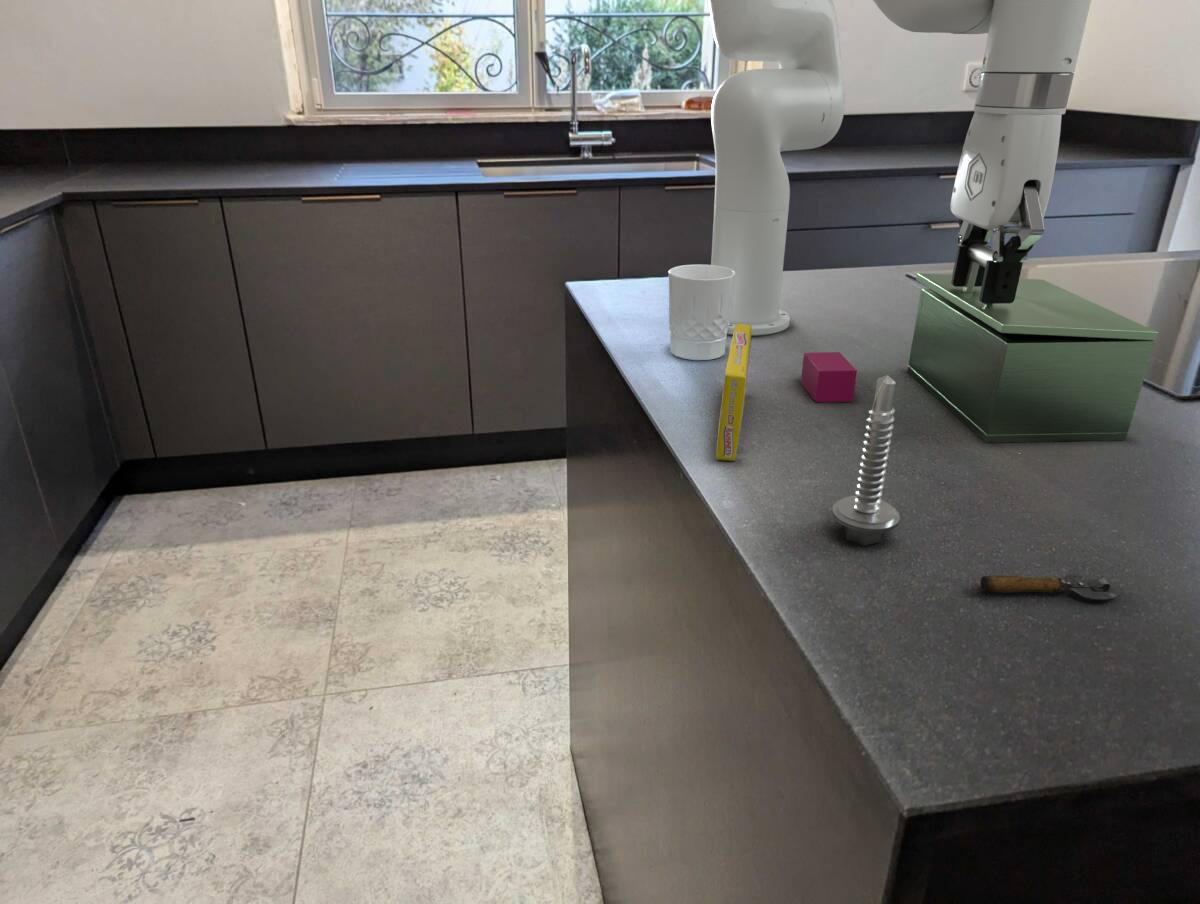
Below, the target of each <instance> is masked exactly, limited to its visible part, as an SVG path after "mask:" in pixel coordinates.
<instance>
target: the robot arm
mask: <svg viewBox="0 0 1200 904" xmlns="http://www.w3.org/2000/svg"><path fill="white" fill-rule="evenodd" d="M872 1H873V2H874V4H875V5H876V7H877V8H878V9H879V11H880V12H881V13H882V14H883V15H884V16H885V17H886V18H887V19H888V20H889V21H890V22H892V23H893V24H894V25H896V26H897V27H898V28H901V29H903V30H905V31H909V32H911V33H927V34H930V33H931V34H933V33H937V34H938V33H940V34H953V35H982V34H983V35H984V34H987V38H986V43H985V49H984V55H983V58H982V59H983V60H982V65H981V70H980V71H981V72H980V74H979V81H978V85H977V91H976V96H975V103H974V107H973V112H974V113H973V116H972V119H971V121H970V124H969V127H968V129H967V133H966V136H965V139H964V143H963V147H962V151H961V155H960V157H959V158H960V159H959V162H958V167H957V171H956V175H955V179H954V185H953V189H952V192H951V193H952V194H951V199H950V205H949V209H950V211H951V214H953V216H954V217H955V218H957V219H958V221H957V224H958V227H959V232H958V234H957V238H956V244H957V249H956V254H955V258H954V259H955V260H954V265H953V270H952V274H951V275H952V280H951V284H952V285H953V286H955V287H964V286H965V282H966V278H967V274H968V270H969V266H970V262H971V260H969V259H968V257H967V250H968V248H969V247H970V246H971V245H972V244H974V243H981V244H983V245H985V246H988V247H990V248H992V260H988V261H987V263H986V268H985V267H983V266H981V265H979V269H978V273H977V277H976V280H975V284H974V287H979V286H982V287H981V292H980V297H979V301H980V302H982V303H984V304H1008V303H1012V302H1013V301H1014V300H1015V295H1016V291H1017V287H1018V282H1019V278H1020V279H1021V273H1022V268H1023V264H1024V263H1025V262H1027V260H1028V255H1029V252H1030V251H1031V250H1032V249H1033V247H1034V245H1035V244H1036V243H1037V242H1038V241H1039V240H1040V239H1041V238H1042V237H1043V236H1044V234H1045V229H1046V228H1045V223H1044V218H1045V215H1046V212H1047V209H1048V205H1049V201H1050V198H1051V197H1050V196H1051V191H1052V188H1053V184H1054V183H1053V182H1054V177H1055V171H1056V165H1057V160H1058V153H1059V146H1060V138H1061V129H1062V115H1065V114H1066V111H1067V107H1068V104H1069V103H1068V102H1069V99H1070V98H1069V97H1070V94H1071V90H1072V86H1073V85H1072V84H1073V80H1074V76H1075V72H1076V71H1075V70H1076V67H1077V63H1078V58H1079V54H1080V51H1081V50H1080V49H1081V46H1082V41H1083V38H1084V37H1083V36H1084V32H1085V29H1086V24H1087V19H1088V15H1089V11H1090V7H1091V4H1092V3H1091V2H1092V0H872ZM708 6H709V14H710V22H711V28H712V35H713V38H714V43H715V45H716V48H717V50H718V52H719V53H720V54H721V55H722V56H723V57H725V58H727V59H730V60H732V61H739V62H778V66H779V68H756V69H755V68H754V69H747V70H743V71H740V72H736V73H734V74H732V75H730V76H729V77H728V78H726V79H725V80H724V81H723V82H722V83H720V85H719V86H718V88H717V89H716V92H715V94H714V96H713V98H712V102H711V109H710V117H711V118H710V122H711V132H712V139H713V148H714V160H715V162H714V163H715V179H714V180H715V182H714V201H713V202H714V203H713V206H714V207H713V223H712V242H711V243H712V244H711V259H710V265H716V266H722V267H726V268H729V269H732V270H733V271H734V272H735V281H734V289H733V298H732V308H731V313H730V322H729V329H728V333H727V335H732V336H733V333H734V329H735V325H736V324H745V325H751V326H752V329H751V337H752V336H766V335H774V334H777V333H781V332H783V331H785V330H786V329H787V328H789V326H790V324H791V323H790V322H791V316H790V315H789V314H788V312H786V311H785V310H783V309H780V305H781V297H782V296H781V294H782V286H783V285H782V284H783V273H784V262H785V253H786V243H787V242H786V241H787V233H788V221H789V220H788V219H789V213H790V212H789V211H790V200H791V199H790V198H791V188H790V187H791V186H790V180H789V175H788V172H787V169H786V166H785V164H784V161H783V158H782V155H781V152H789V151H798V150H799V151H802V150H812V149H815V148H816V149H817V148H820V147H822V146H824V145H826V144H828V143H829V142H830V141H832V139H833V138H834V137H835V136H836V135H837V133H838V132H839V130H840V128H841V125H842V123H843V120H844V115H845V105H846V98H845V97H846V95H845V94H846V93H845V83H844V73H843V63H842V62H843V61H842V55H841V42H840V35H839V25H838V24H839V23H838V17H837V12H836V7H835V4H834V1H833V0H708ZM1007 224H1011V225H1010V226H1006V225H1007ZM1013 225H1014V226H1013ZM1011 235H1012V236H1011ZM1006 236H1011V237H1010V238H1009V240H1008V241H1007V242H1006ZM991 237H992V246H990V245H988V244H989V242H990V239H991ZM1005 242H1006V243H1005Z"/></svg>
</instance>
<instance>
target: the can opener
mask: <svg viewBox="0 0 1200 904" xmlns="http://www.w3.org/2000/svg"><path fill="white" fill-rule="evenodd" d="M1075 578H1080V579H1083V576H1081V575H1079V574H1075V573H1069V574H1066V575H1065V576H1064V578H1060V577H1056V576H1040V577H1039V576H1037V577H1034V576H1022V575H1011V574H1009V575H1008V574H995V575H984V576H981V579H980V587H981V590H982V591H984V592H989V593H1001V594H1002V593H1005V594H1006V593H1007V594H1015V593H1031V592H1032V593H1033V592H1035V593H1036V592H1039V593H1055V594H1056V593H1059V592H1065V591H1066V590H1070V591H1072V592H1074V593H1076V594H1077V595H1079V596H1080V597H1082V598H1086V599H1088V600H1101V601H1104V600H1105V601H1107V600H1111V599H1114V598H1116V597H1118V596H1119V595H1120V594H1121V593H1122V591H1109V590H1110V589H1111V584H1110V582H1109V581H1108V580H1107V578H1103V577H1101V578H1098V579H1096V578H1095V579H1093V580H1089V581H1077V580H1075Z"/></svg>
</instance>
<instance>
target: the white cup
mask: <svg viewBox="0 0 1200 904" xmlns="http://www.w3.org/2000/svg"><path fill="white" fill-rule="evenodd" d="M734 281H735V272H734V271H733V270H732V269H729V268H726V267H722V266H716V265H711V264H703V263H700V264H696V263H695V264H684V265H677V266H674V267H671V268H670V269H668V322H669V325H668V326H669V327H668V328H669V332H670V353H671V354H672V355H674V356H675V357H678V358H680V359H684V360H692V361H710V360H715V359H719V358H721V357H723V356H725V354H726V345H727V336H728V334H727V333H728V329H729V322H730V313H731V308H732V298H733V289H734Z"/></svg>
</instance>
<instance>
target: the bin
mask: <svg viewBox="0 0 1200 904" xmlns="http://www.w3.org/2000/svg"><path fill="white" fill-rule="evenodd" d="M912 336H913V337H912V341H911V346H910V347H911V348H910V353H909V358H908V359H909V360H908V365H907V371H906V372H907V373H908V375H910V376H911V377H912V378H913V379H914V380H915V381H916V382H918V383H919V385H920V386H922V387H923V388H924V389H925V390H927V392H928V393H930V394H931V395H932V396H933V397H934V398H935V399H936V400H938V402H939V403H941V404H942V405H943V406H944V407H946V408H947V410H949V411H950V412H951V413H952V414H953V415H954V416H955V417H957V419H959V420H960V421H961V422H962V423H963V424H964V425H965V426H966V427H967V428H969V430H971V431H972V432H973V433H974V434H975V435H976V436H977V437H979V438H980V439H981V441H983V442H984V443H985V444H986V443H987V444H989V443H990V444H991V443H995V444H996V443H1040V442H1041V443H1042V442H1043V443H1044V442H1045V443H1046V442H1050V443H1051V442H1088V441H1089V442H1092V441H1093V442H1097V441H1099V442H1101V441H1102V442H1103V441H1126V440H1127V437H1128V433H1129V430H1130V428H1131V427H1130V426H1131V423H1132V420H1133V416H1134V414H1135V410H1136V408H1137V404H1138V400H1139V397H1140V393H1141V391H1142V387H1143V384H1144V380H1145V377H1146V373H1147V370H1148V367H1149V364H1150V360H1151V357H1152V354H1153V350H1154V347H1155V344H1156V340H1134V339H1114V338H1093V337H1072V336H1051V335H1030V334H1009V333H1000V332H999V331H997V330H995V329H994V328H992V327H991V326H989V325H987V324H986V323H984V322H983V321H981V320H979V319H978V318H976V317H975V316H973V315H971V314H970V313H968V312H966V311H965V310H963V309H962V308H960V307H958V306H957V305H955V304H954V303H952V302H950V301H949V300H947V299H946V298H944V297H942V296H941V295H939V294H938V293H936V292H934V291H933V290H931V289H929V288H921V289H920V294H919V300H918V307H917V312H916V317H915V324H914V330H913V335H912Z"/></svg>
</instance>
